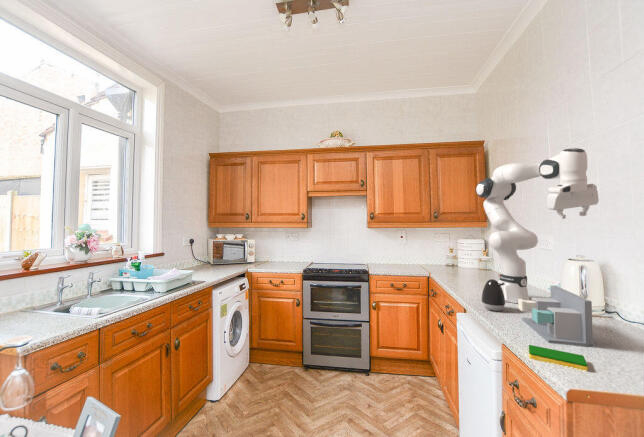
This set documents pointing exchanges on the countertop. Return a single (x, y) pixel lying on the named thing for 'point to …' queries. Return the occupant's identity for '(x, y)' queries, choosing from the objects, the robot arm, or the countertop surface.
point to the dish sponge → (557, 357)
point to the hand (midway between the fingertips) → (572, 217)
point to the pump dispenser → (493, 295)
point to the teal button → (542, 316)
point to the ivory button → (526, 305)
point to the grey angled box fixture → (565, 319)
